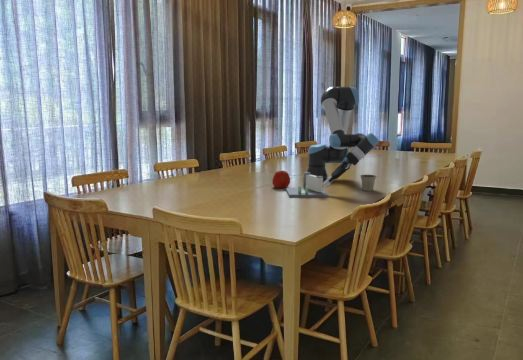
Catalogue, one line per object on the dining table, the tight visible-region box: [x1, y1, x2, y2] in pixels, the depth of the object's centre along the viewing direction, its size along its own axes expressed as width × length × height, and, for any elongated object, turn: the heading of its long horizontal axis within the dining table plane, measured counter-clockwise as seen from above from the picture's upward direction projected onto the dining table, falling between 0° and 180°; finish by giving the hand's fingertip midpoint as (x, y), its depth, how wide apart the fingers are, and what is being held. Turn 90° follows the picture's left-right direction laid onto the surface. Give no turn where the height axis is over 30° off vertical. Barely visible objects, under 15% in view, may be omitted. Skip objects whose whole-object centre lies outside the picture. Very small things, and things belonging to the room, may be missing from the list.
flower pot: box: [359, 174, 377, 192], centre depth 267 cm, size 9×9×9 cm
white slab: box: [302, 171, 324, 192], centre depth 257 cm, size 16×4×9 cm, turn 27°
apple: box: [272, 170, 291, 189], centre depth 274 cm, size 11×11×11 cm
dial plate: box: [285, 185, 328, 198], centre depth 256 cm, size 22×21×6 cm
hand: (324, 185), depth 254 cm, fingers closed
